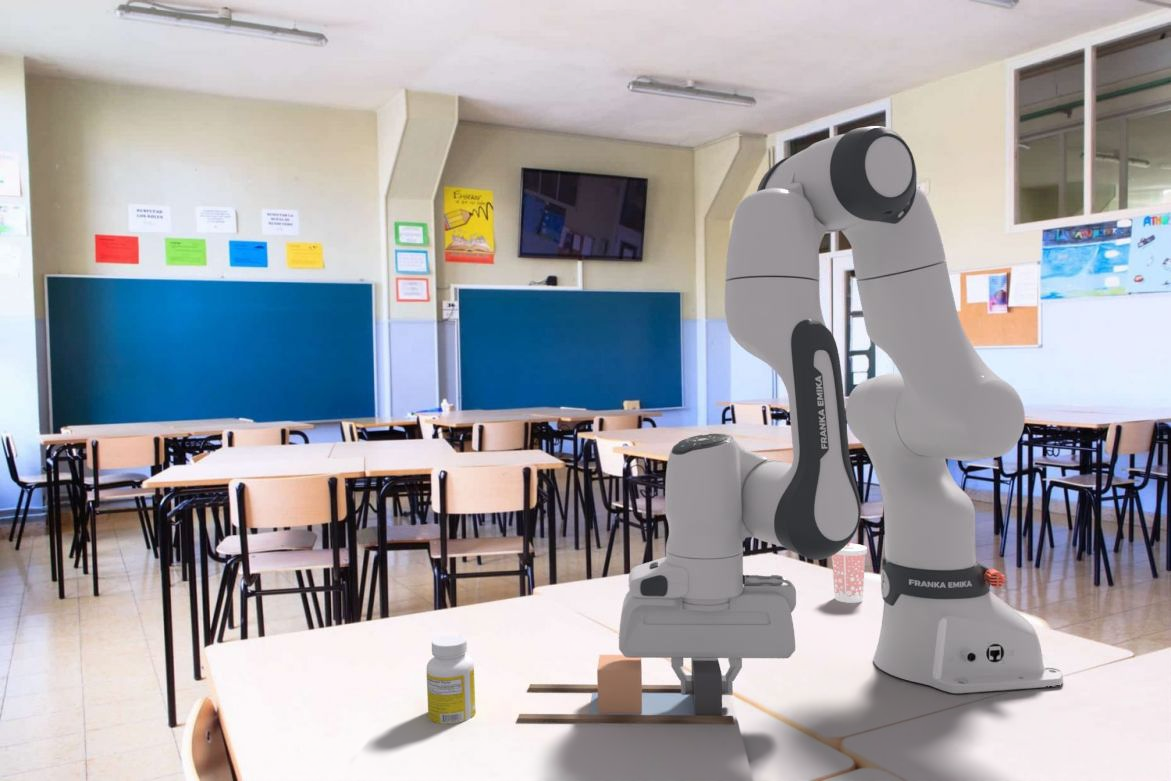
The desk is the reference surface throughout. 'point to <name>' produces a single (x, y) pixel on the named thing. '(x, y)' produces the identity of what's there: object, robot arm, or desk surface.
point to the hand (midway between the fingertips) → (706, 693)
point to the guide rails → (617, 718)
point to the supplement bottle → (450, 681)
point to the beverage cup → (849, 573)
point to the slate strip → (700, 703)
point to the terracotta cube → (619, 684)
